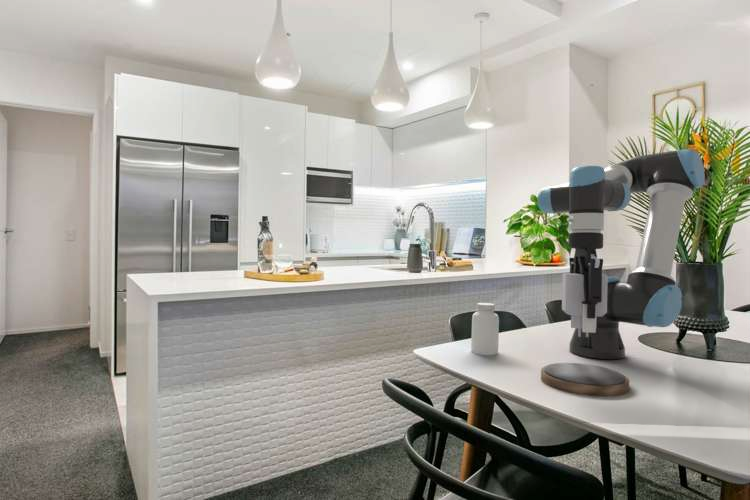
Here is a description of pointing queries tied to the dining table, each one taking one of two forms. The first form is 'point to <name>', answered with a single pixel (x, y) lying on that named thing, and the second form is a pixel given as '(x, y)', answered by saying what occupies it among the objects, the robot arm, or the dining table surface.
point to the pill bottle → (485, 330)
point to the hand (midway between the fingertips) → (583, 329)
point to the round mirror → (585, 379)
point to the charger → (580, 299)
